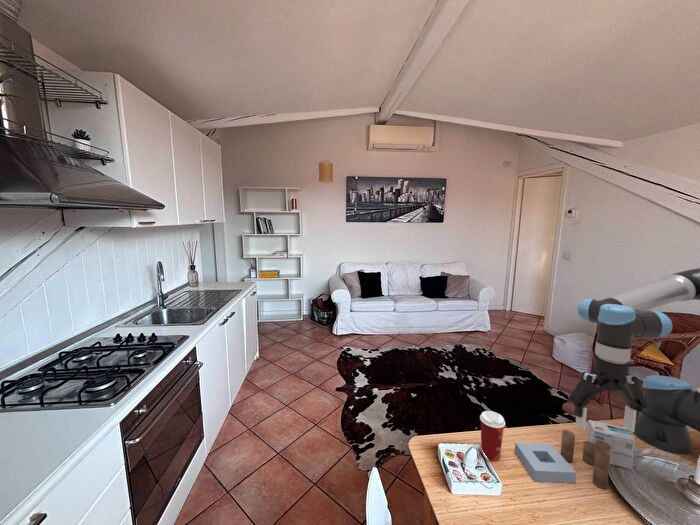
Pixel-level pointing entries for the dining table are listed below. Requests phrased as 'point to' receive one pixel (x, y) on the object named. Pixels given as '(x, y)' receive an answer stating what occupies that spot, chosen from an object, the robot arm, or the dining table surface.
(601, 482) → the tall walnut dowel
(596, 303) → the robot arm
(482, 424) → the paper cup
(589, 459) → the short walnut dowel
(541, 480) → the drilled block
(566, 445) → the medium walnut dowel
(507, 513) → the dining table surface
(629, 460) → the light bulb box
